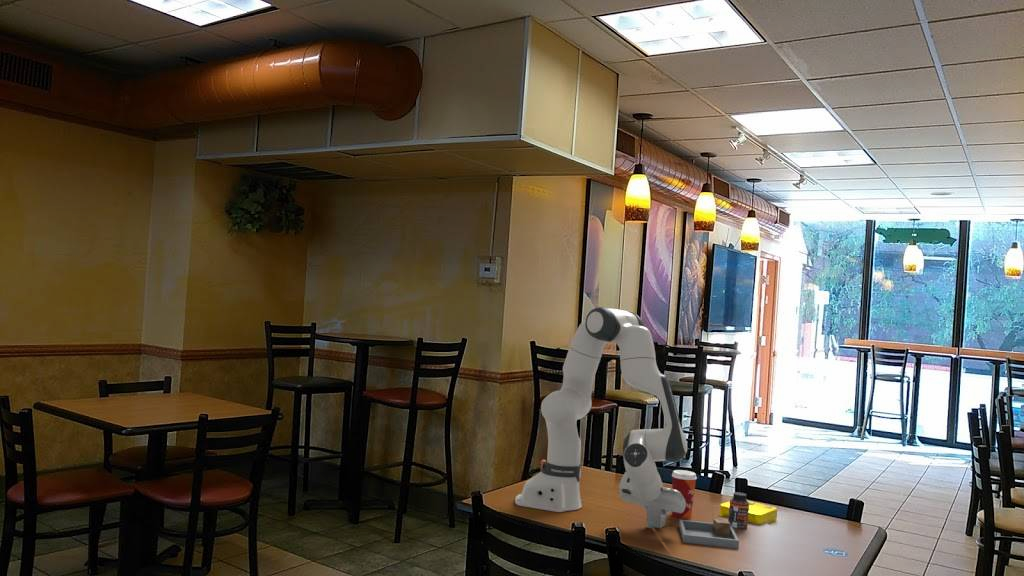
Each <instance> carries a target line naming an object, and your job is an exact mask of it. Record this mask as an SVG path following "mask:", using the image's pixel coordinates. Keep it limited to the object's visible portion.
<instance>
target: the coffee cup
mask: <svg viewBox="0 0 1024 576" xmlns="http://www.w3.org/2000/svg"><path fill="white" fill-rule="evenodd" d="M671 479H672V480H671V481H672V482H671V483H672V485H671V487H672V488H671V489H675V490H677V491H679V492H680V493H681V494H682V496H683V497H684V499H685V501H686V507H685V510H684V512H682V513H677V512H673V511H671V513H672V516H673V517H675V518H678V519H683V520H687V519H691V518H692V512H693V506H694V497H695V490H696V480H697V479H698V477H697V473H695V472H694V471H691V470H686V469H685V470H683V469H675V470H673V471H672V474H671Z"/></svg>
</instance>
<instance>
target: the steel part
mask: <svg viewBox="0 0 1024 576" xmlns="http://www.w3.org/2000/svg"><path fill="white" fill-rule="evenodd" d="M663 510H664V509H659V508H655V507H650V506H648V507H647V511H646V528H648V529H651V530H656V529H655V528H659V529H662V527H664V526H666V520H667V515H663V513H662V511H663Z"/></svg>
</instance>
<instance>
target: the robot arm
mask: <svg viewBox="0 0 1024 576" xmlns="http://www.w3.org/2000/svg"><path fill="white" fill-rule="evenodd" d="M644 325H645V324H644V322H643V320H642V318H641V317H640V316H639V315H638V314H636V313H634V312H631V311H627V310H624V309H620V308H614V307H613V308H611V307H610V308H609V307H605V306H599V307H595V308H593V309H591V310H590V311H589V312H588V314H587V315H586V317H585V320H584V321H582V322H581V323H580V324H579V326H578V328H577V329H576V331H575V333H574V335H573V337H572V340H571V342H570V345H569V347H568V350H567V353H566V358H565V360H564V362H563V366H562V373H563V378H562V384H561V385H562V386H561V388H560V389H559V390H555V391H552V392H551V393H548V395H546V396H545V398H544V399H543V400H542V401H541V405H540V410H541V415H542V416H543V418H544V419H545V420H544V421H545V424H546V430H547V442H548V443H547V457H546V458H547V459H541V461H540V469H539V470H540V472H539V473H536V474H535V475H533V476H532V477H531V478H529V479H528V480H526V482H525V483H524V485H523V488H522V492H521V493H519V494H518V495H516V496H515V499H514V502H515V504H516V505H517V506H520V507H527V508H531V509H532V508H533V509H538V510H545V511H550V512H556V513H563V512H567V511H575V510H579V509H581V508H582V499H581V493H580V481H581V474H582V467H581V466H582V464H581V463H580V461H581V451H582V447H581V446H582V442H581V438H580V436H579V432H578V427H577V421H578V420H581V419H583V418H584V417H585V416H587V415H588V414H589V412H590V411H591V408H592V404H593V403H592V393H593V386H594V380H595V376H596V373H597V370H598V367H599V364H600V362H601V358H602V357H603V356H602V355H603V353H604V349H605V347H606V345H608V344H609V343H611V344H612V343H614V344H616V345H617V346H618V348H619V360H620V372H621V376H622V379H623V380H624V381H625V383H626V384H628V385H629V386H630V387H631V388H633V389H634V388H635V389H637V390H639V391H642V392H646V393H649V394H652V395H654V396H655V397H657V399H658V400H659V401H660V405H661V409H662V412H663V417H664V421H665V425H666V426H665V427H664V428H651V429H650V428H642V429H632V430H631V431H629V432H628V433H627V434H626V436H625V438H624V439H623V442H622V443H623V444H622V457H623V464H624V468H625V472H623V473H624V474H623V475H622V477H621V480H620V482H619V486H618V490H619V496H620V497H621V500H622V501H624V502H628V503H633V504H637V505H640V507H642V508H643V509H644V511H646V512H647V507H648V506H650V507H655V508H659V509H664V510H663V511H662V513H663V515H666V516H669V513H670V512H672V511H673V512H677V513H682V512H684V510H685V507H686V501H685V499H684V497H683V496H682V494H681V493H680V492H679V491H677V490H675V489H672V488H669V487H664V484H663V481H662V478H661V475H660V474H659V472H658V468H657V465H656V462H668V463H669V462H670V463H679V462H680V461H681V460H683V459H684V457H686V455H687V454H688V442H687V441H688V440H687V438H686V435H685V433H684V430H683V426H682V425H681V419H680V416H679V415H680V414H679V411H678V409H677V404H676V401H675V397H674V393H673V390H672V386H671V383H670V381H669V378H668V377H667V376H666V375H665V374H663V373H661V372H660V370H659V367H658V364H657V359H656V350H655V344H654V343H655V342H654V340H653V336H652V333H651V331H650V330H649V328H647V327H645V326H644Z"/></svg>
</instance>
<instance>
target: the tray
mask: <svg viewBox="0 0 1024 576" xmlns="http://www.w3.org/2000/svg"><path fill="white" fill-rule="evenodd" d="M678 527H679V531H680V534H681V540H682V542H683V543H687V544H695V545H703V546H712V547H720V548H732V549H739V547H740V545H739V544H740V540H739V537H738V536H737V534H736V532H735V529H734V528H732V526H731V525H730V537H726V536H716V535H715V534H714V533H713V522H706V521H698V520H696V521H695V520H687V519H679V525H678Z"/></svg>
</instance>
